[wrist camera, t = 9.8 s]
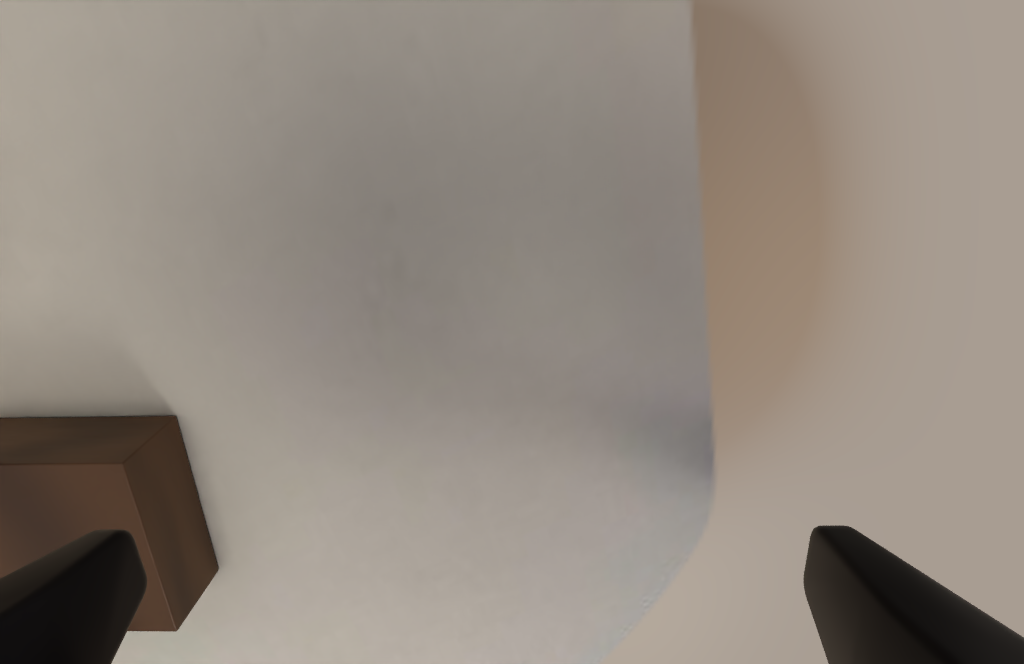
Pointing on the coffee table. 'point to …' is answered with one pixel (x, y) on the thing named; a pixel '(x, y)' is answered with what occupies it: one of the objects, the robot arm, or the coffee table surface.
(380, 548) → the coffee table surface
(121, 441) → the walnut block
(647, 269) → the coffee table surface
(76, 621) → the robot arm
